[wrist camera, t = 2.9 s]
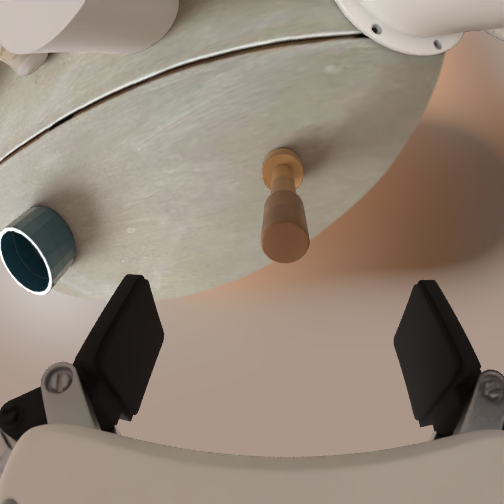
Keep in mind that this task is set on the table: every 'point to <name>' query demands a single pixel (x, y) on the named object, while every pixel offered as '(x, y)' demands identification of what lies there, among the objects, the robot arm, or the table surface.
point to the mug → (22, 61)
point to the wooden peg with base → (283, 208)
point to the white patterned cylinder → (84, 25)
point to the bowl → (37, 249)
